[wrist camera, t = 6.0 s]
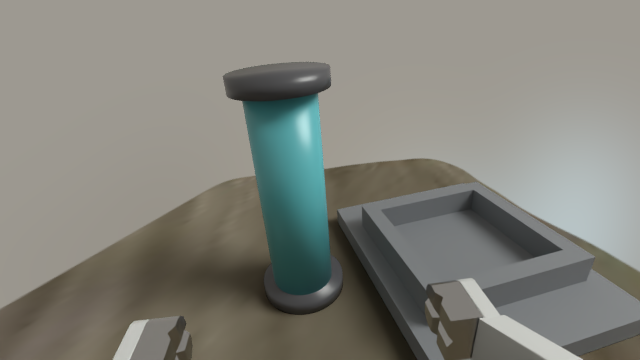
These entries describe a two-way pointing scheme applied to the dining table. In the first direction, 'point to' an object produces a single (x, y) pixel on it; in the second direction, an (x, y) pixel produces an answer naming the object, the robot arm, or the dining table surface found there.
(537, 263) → the board
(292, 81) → the teal and grey rod
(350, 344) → the dining table surface
